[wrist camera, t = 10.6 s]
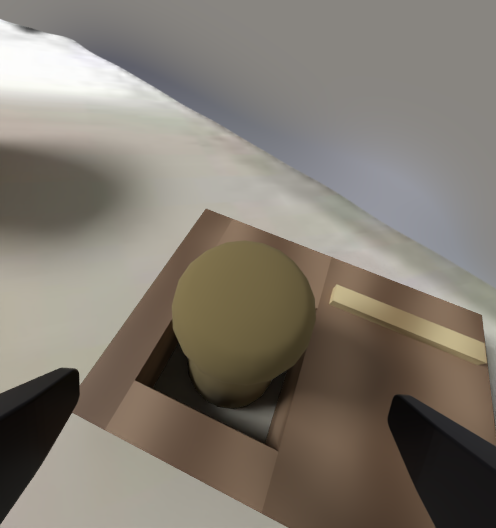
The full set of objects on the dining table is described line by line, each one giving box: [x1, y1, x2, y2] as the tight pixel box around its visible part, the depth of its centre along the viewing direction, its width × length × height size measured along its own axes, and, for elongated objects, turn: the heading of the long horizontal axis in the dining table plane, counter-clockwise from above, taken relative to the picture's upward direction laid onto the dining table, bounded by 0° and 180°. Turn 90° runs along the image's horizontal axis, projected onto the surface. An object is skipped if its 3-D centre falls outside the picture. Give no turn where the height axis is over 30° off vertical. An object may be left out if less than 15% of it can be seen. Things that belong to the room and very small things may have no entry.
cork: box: [172, 240, 316, 409], centre depth 13 cm, size 6×6×11 cm
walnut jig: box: [72, 209, 496, 528], centre depth 15 cm, size 20×14×5 cm
